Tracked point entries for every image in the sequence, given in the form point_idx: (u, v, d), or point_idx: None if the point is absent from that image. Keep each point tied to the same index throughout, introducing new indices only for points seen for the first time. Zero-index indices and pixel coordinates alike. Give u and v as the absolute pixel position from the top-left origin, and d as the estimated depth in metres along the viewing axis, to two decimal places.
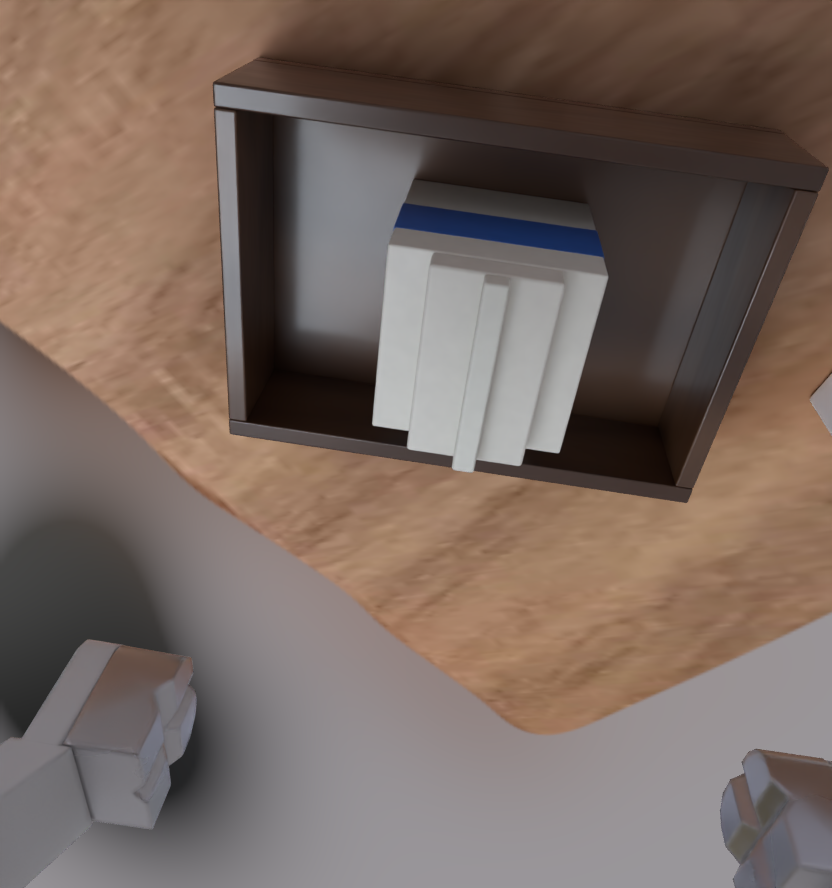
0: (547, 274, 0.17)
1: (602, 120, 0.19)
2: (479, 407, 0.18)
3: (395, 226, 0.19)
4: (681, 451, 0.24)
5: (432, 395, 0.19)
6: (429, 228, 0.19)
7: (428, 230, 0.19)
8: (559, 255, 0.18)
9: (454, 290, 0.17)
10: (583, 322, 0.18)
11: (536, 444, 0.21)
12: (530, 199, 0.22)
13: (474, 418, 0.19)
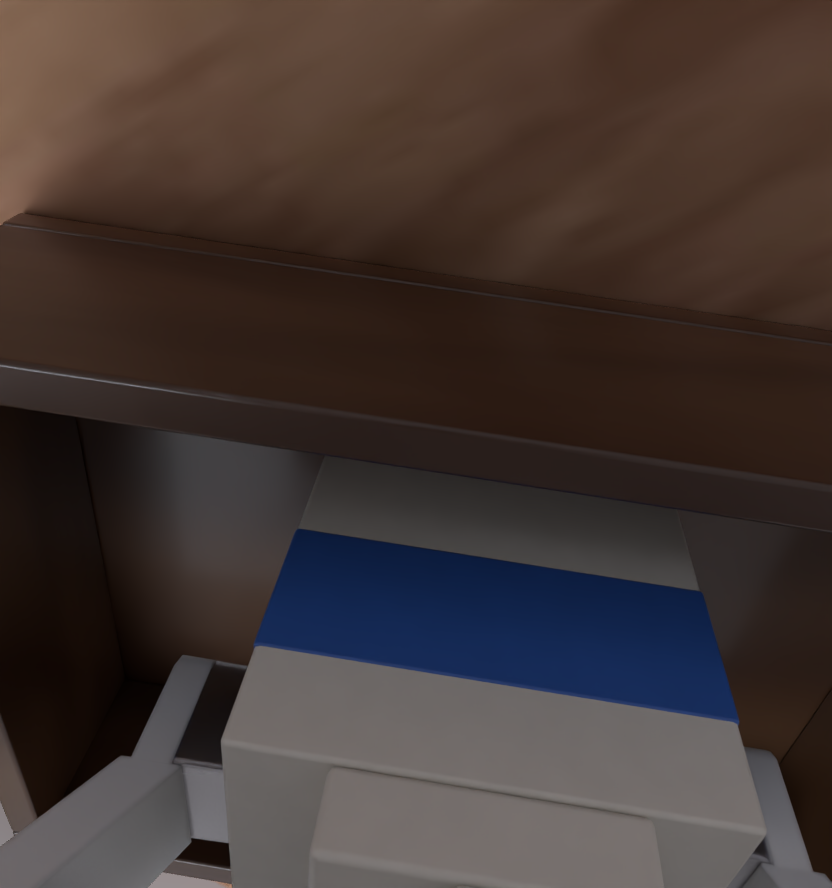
0: (618, 858, 0.07)
1: (723, 383, 0.09)
2: None
3: (257, 641, 0.08)
4: None
5: None
6: (336, 641, 0.08)
7: (333, 651, 0.08)
8: (638, 733, 0.08)
9: None
10: None
11: None
12: None
13: None
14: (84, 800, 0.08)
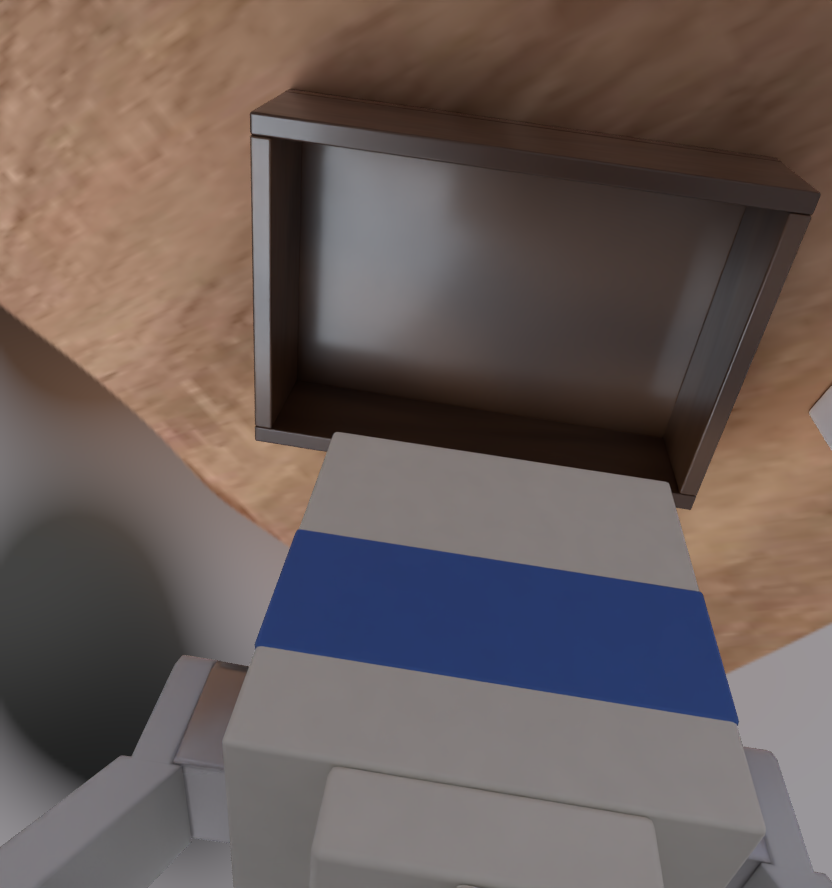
0: (619, 858, 0.07)
1: (609, 148, 0.21)
2: None
3: (258, 642, 0.08)
4: (684, 459, 0.25)
5: None
6: (336, 642, 0.08)
7: (334, 651, 0.08)
8: (636, 732, 0.08)
9: None
10: None
11: None
12: (558, 478, 0.11)
13: None
14: (84, 800, 0.08)
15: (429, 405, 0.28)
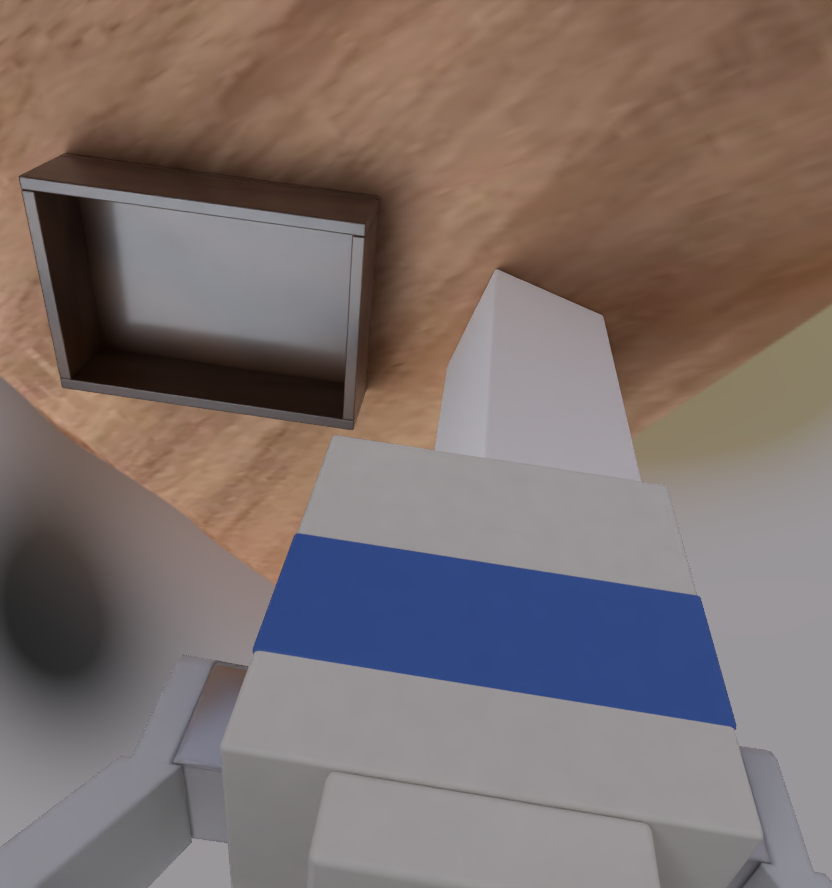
0: (615, 863, 0.07)
1: (255, 193, 0.33)
2: None
3: (256, 646, 0.08)
4: None
5: None
6: (334, 646, 0.08)
7: (332, 655, 0.08)
8: (634, 737, 0.08)
9: None
10: None
11: None
12: (557, 481, 0.11)
13: None
14: (84, 800, 0.08)
15: (192, 363, 0.40)
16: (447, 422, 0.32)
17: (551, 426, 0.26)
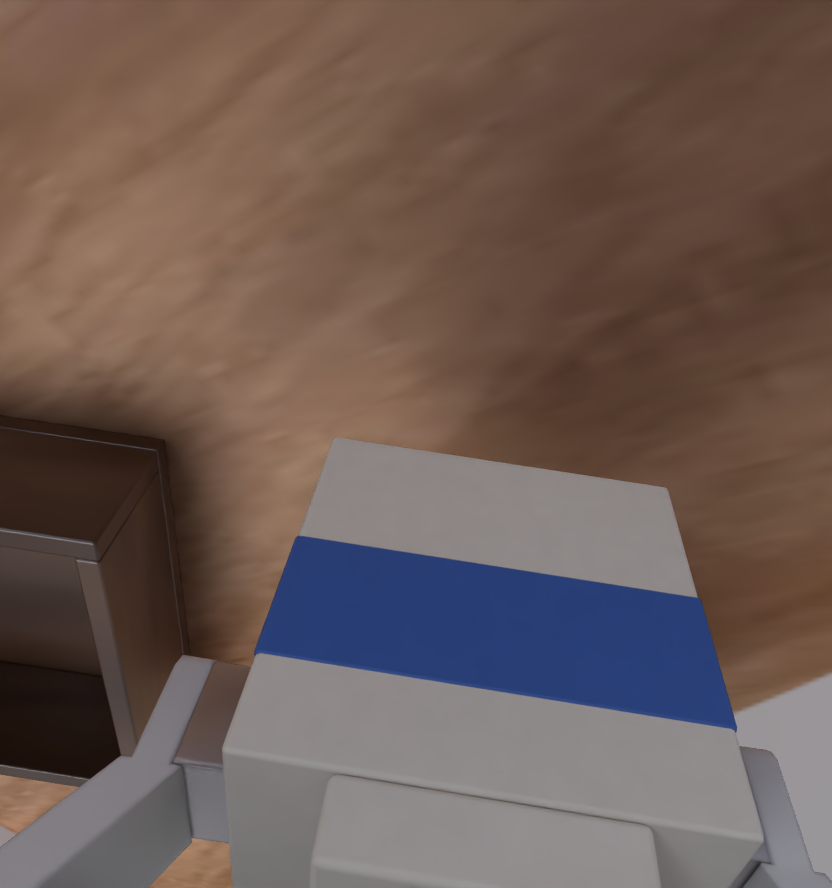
0: (616, 865, 0.07)
1: None
2: None
3: (258, 649, 0.08)
4: None
5: None
6: (335, 649, 0.08)
7: (333, 658, 0.08)
8: (635, 740, 0.08)
9: None
10: None
11: None
12: (557, 483, 0.11)
13: None
14: (84, 800, 0.08)
15: None
16: None
17: None
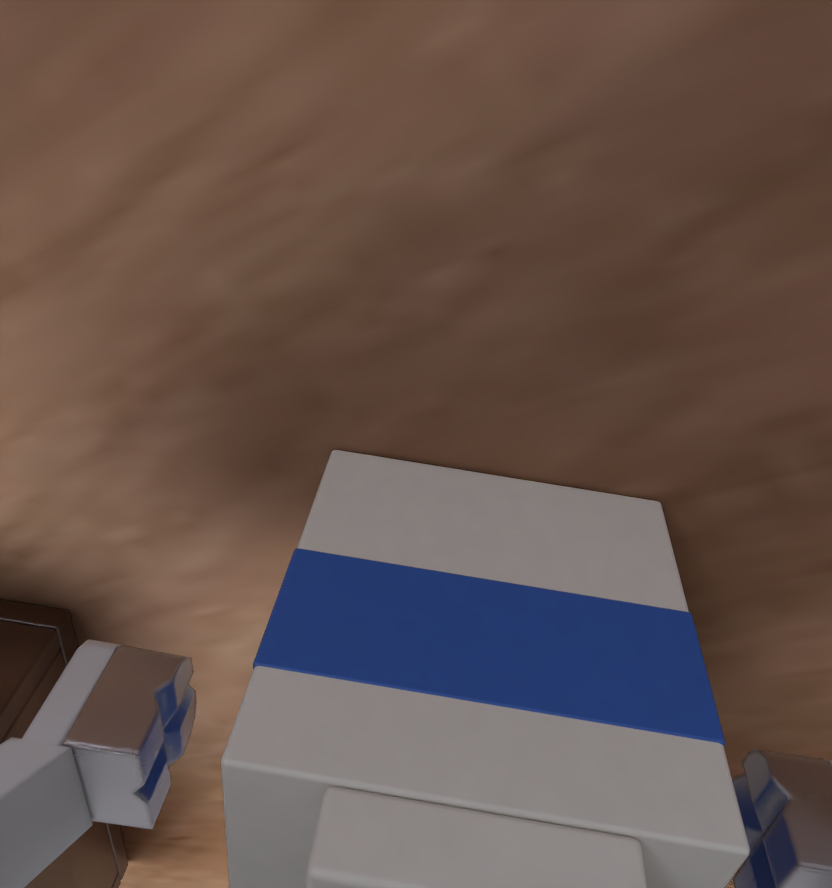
0: (606, 878, 0.07)
1: None
2: None
3: (257, 662, 0.08)
4: None
5: None
6: (334, 661, 0.09)
7: (330, 671, 0.08)
8: (625, 753, 0.08)
9: None
10: None
11: None
12: (553, 497, 0.12)
13: None
14: None
15: None
16: None
17: None
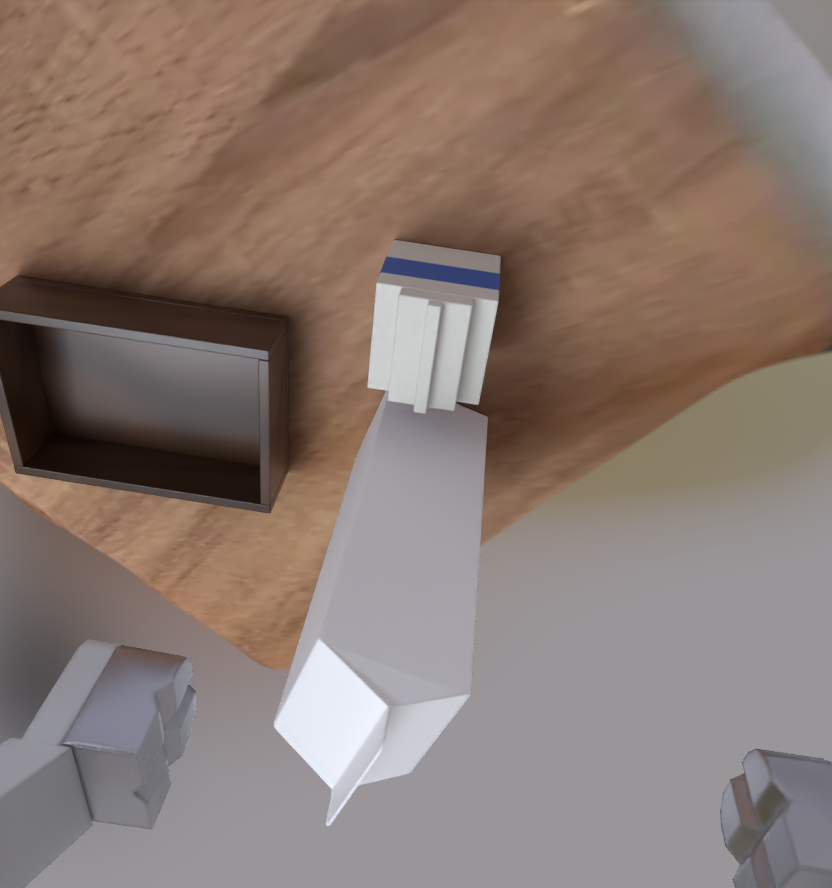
0: (463, 300, 0.32)
1: (178, 318, 0.38)
2: (427, 374, 0.33)
3: (381, 271, 0.33)
4: None
5: (401, 368, 0.33)
6: (400, 272, 0.33)
7: (400, 274, 0.33)
8: (473, 289, 0.33)
9: (412, 308, 0.32)
10: (486, 326, 0.33)
11: (464, 399, 0.35)
12: (465, 252, 0.36)
13: (425, 380, 0.33)
14: None
15: (133, 449, 0.45)
16: (339, 519, 0.37)
17: (405, 541, 0.31)
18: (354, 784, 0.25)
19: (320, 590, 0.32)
